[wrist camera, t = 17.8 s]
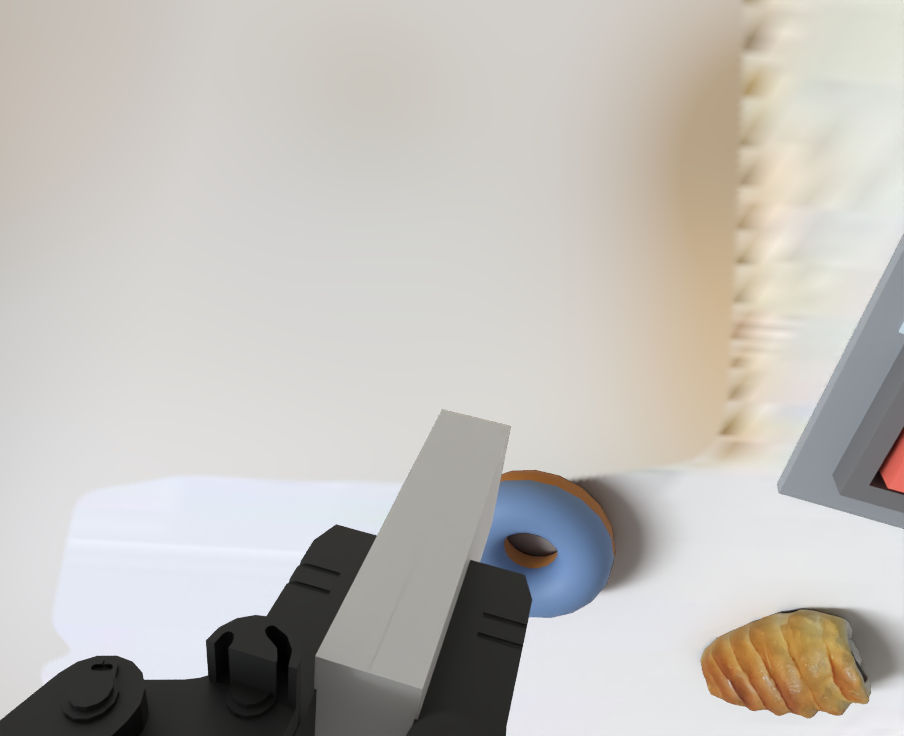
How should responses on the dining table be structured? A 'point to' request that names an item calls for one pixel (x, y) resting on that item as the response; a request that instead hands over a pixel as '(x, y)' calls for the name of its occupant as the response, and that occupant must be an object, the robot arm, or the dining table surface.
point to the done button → (894, 465)
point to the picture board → (858, 415)
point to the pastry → (788, 665)
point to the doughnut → (552, 540)
